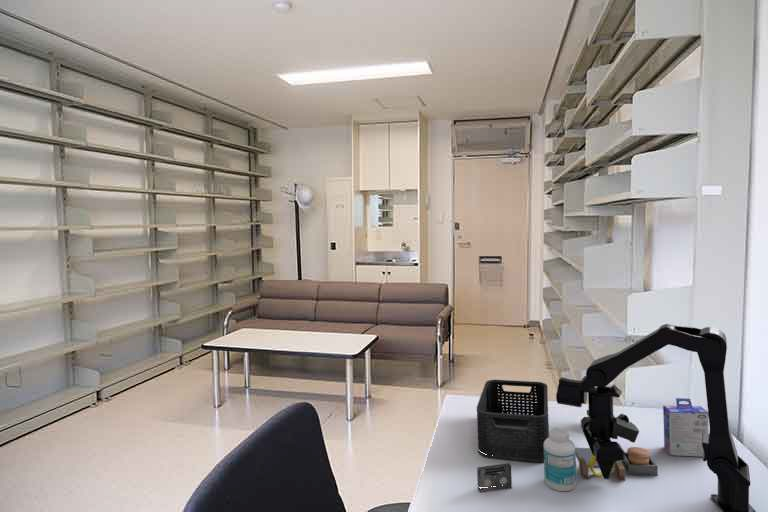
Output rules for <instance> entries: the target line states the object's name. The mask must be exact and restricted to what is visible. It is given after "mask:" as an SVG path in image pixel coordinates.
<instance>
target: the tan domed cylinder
mask: <svg viewBox="0 0 768 512" xmlns="http://www.w3.org/2000/svg"><path fill="white" fill-rule="evenodd" d="M626 452H627V453H628V461H629V463H630V464H644V465H649V457H650V456H651V453H650V451H649V450H648V449H646V448H643V447H639V446H631V447H628V448H627V450H626Z"/></svg>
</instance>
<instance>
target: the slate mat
mask: <svg viewBox="0 0 768 512" xmlns="http://www.w3.org/2000/svg"><path fill="white" fill-rule="evenodd" d="M575 454H576V457H578V458H577V459H579V458H584V459H585V461H586V464H587V466H588V468H589V462H590V459H591V458H592V456H593V454H592V452H591V449H590V447H575ZM593 468H599V465H598V463H597V461H595V462H594V464H593ZM613 469H614V467H613Z"/></svg>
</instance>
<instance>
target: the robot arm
mask: <svg viewBox="0 0 768 512" xmlns="http://www.w3.org/2000/svg"><path fill="white" fill-rule="evenodd" d="M727 344H728V342H727V337H726V333H725V332H723V330H720V329H719V328H717V327H713V326H706V327H704V328H700V327H695V326H694V327H693V326H682V325H679V326H678V325H674V324H669V323H665V324H662V325H660V326H659V327H658V328H657V329H656V330H654V331H652V332H651V333H650V332H649V334H647V335H645V336H643V337H642V338H640V339H638V340H637V341H635V342H633V343H632V344H630V345H628V346H626V347H625V348H623V349H621V350H620V351H618V352H615V353H613V354H607V355H605V356H602V357H599V358H597V359H594V360H593V361H592V362H591V364H590V365H589V366H588V367H587V369H586V373H585V375H584V376H583V378H582V379H581V380H577V379H570V378H567V377H559V379H558V385H557V391H556V393H555V398H556V402H557V404H558V405H564V406H565V405H566V406H571V407H577V408H582V406H583V405H586V404H587V403H588V404H587V405H588V407H587V408H588V409H587V410H586V415H587V416H584V417H582V418H581V419H580V427H581V429H582V432H583V435H584V438H585V440H586V442H587V444H588V448H590V449H591V452H592V454H593V455H594V456H595V458H596V460H595V461H597V463H598V465H599V467H598V468H599V470H600V472H601V473H602V475H603V476H602V477H603V479H605V480H609V478H610V476H611V473H612V472H611V470H612V467H613V465H614V463H615V462H616V461H623V460H625V452H626V451H624V449H623V447H622V446H621V444H620V443H619V442H617V441H612V440H618V438H621V439H625V440H627V441H629V442H631V443H633V444H634V443H635V442H636V441H637V438H638V436H639V434H640V429H639V428H638V427H637V425H635V424H634V423H633V422H631V421H630V418H629V417H628V415H626V414H624V413H620V414H619V415H617V416H615V415H614V398H620V397H621V395H622V393H623V391H622V390H621V389H620V388H618V387H617V385H616V384H615V383H614V384H612V385H611V386H608V385H609V384H610V383H611V382H613V381H615V379H617V377H618V376H620V374H622V373H623V372H624V371H625V370H626V369H628V368H629V367H632V366H634V365H635V364H636V363H638V362H640V361H642V360H643V359H645V358H647V357H649V356H650V355H652V354H654V353H656V352H658V351H659V350H661V349H663V348H665V347H666V346H673V347H677V348H679V349H683V350H686V351H690V352H693V353H696V354H697V357H698V360H699V363H700V365H701V368H702V370H703V373H704V374H703V375H704V382H705V383H704V384H705V393H706V404H707V412H708V416H709V431H708V434H706V433H702V447H703V450H704V453H703V457H702V459H703V460H702V461H703V462H706V464H707V467H708V470H710V471H711V472H712V473H713V474H715V475H716V476H717V494H716V493H715V494H713V493H712V494H710V498H711V499H712V500H713V501H714V502H715V504H716V505H717V506H718V507H719V508H720V510H721V511H722V512H757V511H756V510H755V508H754V507H753V506H752V505H751V504H750V486H751V484H752V483H751V475H750V466H749V464H748V463H746V461H745V460H744V459H742V457H740V456H739V454H738V451H737V447H736V444H735V441H734V437H733V435H732V433H731V430H730V425H729V415H728V404H727V394H726V383H725V373H724V372H725V365H726V359H727V351H728V350H727V349H728V345H727ZM612 471H613V470H612Z"/></svg>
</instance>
